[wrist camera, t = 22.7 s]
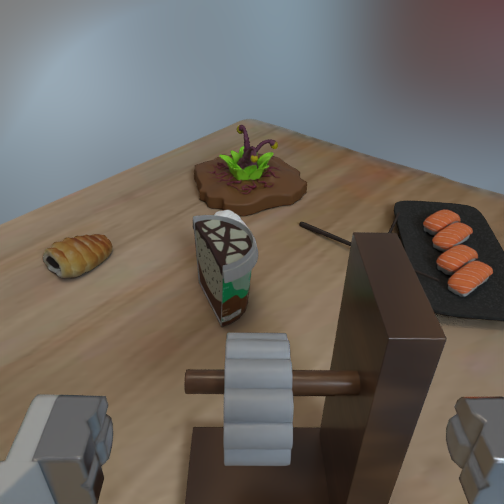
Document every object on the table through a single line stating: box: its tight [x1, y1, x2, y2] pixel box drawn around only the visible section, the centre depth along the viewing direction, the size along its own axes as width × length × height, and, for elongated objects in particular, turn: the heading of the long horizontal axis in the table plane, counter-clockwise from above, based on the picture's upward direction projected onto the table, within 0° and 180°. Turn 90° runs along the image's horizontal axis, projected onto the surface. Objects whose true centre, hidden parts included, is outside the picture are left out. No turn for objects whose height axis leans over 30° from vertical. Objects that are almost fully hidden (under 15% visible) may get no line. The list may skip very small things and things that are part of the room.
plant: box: [194, 125, 307, 216], centre depth 86 cm, size 20×20×11 cm
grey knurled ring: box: [223, 333, 293, 466], centre depth 32 cm, size 4×8×8 cm, turn 0°
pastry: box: [43, 234, 112, 278], centre depth 68 cm, size 9×7×4 cm
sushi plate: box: [300, 201, 504, 321], centre depth 71 cm, size 29×30×4 cm
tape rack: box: [185, 232, 446, 504], centre depth 35 cm, size 15×12×24 cm
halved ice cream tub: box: [193, 215, 258, 327], centre depth 61 cm, size 12×6×10 cm, turn 22°
